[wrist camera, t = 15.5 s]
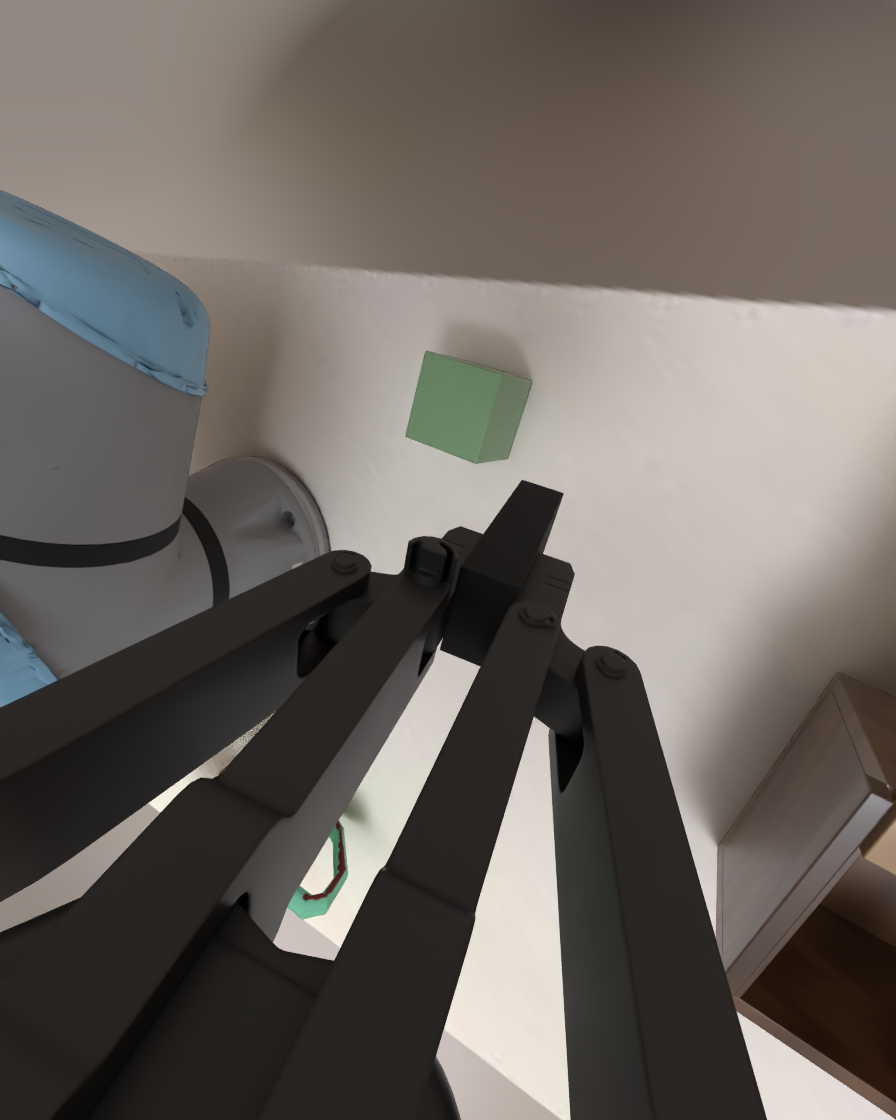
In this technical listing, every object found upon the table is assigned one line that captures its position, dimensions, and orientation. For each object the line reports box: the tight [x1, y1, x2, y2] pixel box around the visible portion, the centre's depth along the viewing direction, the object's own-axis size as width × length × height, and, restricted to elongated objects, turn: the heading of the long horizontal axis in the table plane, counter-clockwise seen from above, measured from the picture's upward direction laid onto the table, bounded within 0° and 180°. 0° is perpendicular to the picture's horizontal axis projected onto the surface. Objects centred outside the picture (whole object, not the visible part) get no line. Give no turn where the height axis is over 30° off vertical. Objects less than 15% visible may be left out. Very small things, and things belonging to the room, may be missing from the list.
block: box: [406, 351, 532, 464], centre depth 31 cm, size 5×5×5 cm
